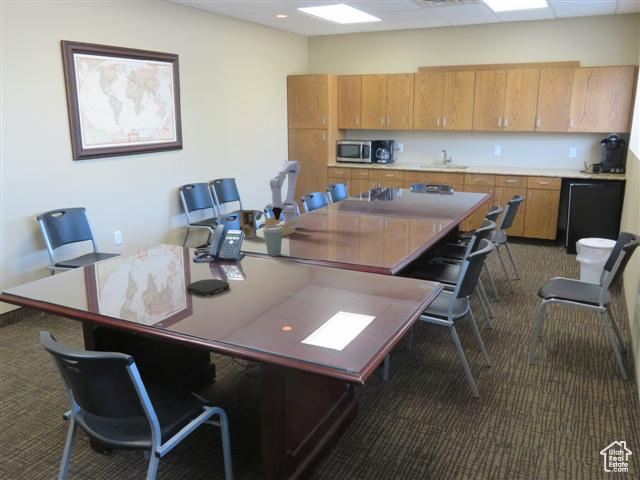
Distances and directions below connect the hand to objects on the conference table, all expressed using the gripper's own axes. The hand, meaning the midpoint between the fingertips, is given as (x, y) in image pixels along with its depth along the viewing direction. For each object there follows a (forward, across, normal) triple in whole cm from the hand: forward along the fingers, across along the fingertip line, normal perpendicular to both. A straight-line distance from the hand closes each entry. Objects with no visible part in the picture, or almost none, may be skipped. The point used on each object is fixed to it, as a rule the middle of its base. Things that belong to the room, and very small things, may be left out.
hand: (277, 219), depth 327 cm
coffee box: (+9, -10, -17) cm, 22 cm away
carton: (+9, +1, 0) cm, 9 cm away
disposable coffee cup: (+9, +30, -43) cm, 53 cm away
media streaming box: (+10, +43, -104) cm, 113 cm away
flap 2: (+4, +7, 0) cm, 9 cm away
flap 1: (+4, -5, 0) cm, 6 cm away
